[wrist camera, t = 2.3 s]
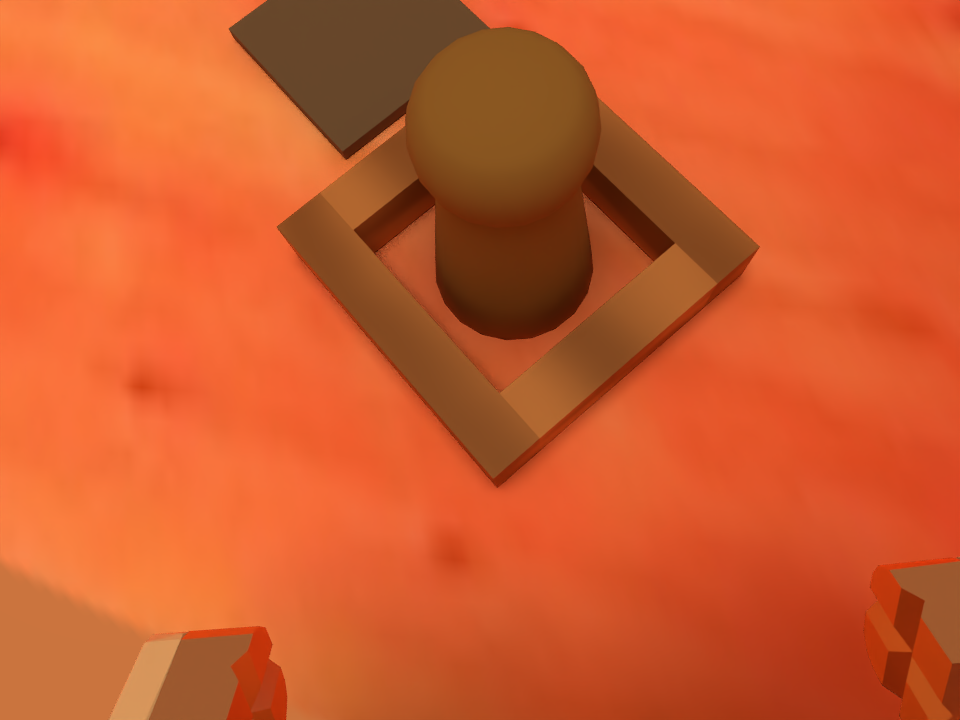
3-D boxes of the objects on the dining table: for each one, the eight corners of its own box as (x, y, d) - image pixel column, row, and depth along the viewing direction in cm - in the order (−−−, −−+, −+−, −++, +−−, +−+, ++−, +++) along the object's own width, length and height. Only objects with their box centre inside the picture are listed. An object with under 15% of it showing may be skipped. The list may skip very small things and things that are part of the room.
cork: (521, 372, 28) (510, 249, 18) (402, 273, 30) (327, 104, 19) (625, 256, 29) (675, 73, 19) (506, 165, 31) (489, -53, 20)
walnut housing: (527, 72, 32) (526, 31, 29) (741, 274, 29) (759, 246, 26) (297, 254, 30) (276, 226, 28) (497, 487, 27) (493, 478, 25)
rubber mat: (377, -69, 34) (375, -79, 34) (495, 42, 32) (494, 33, 32) (234, 38, 33) (228, 28, 33) (346, 159, 31) (342, 151, 31)
